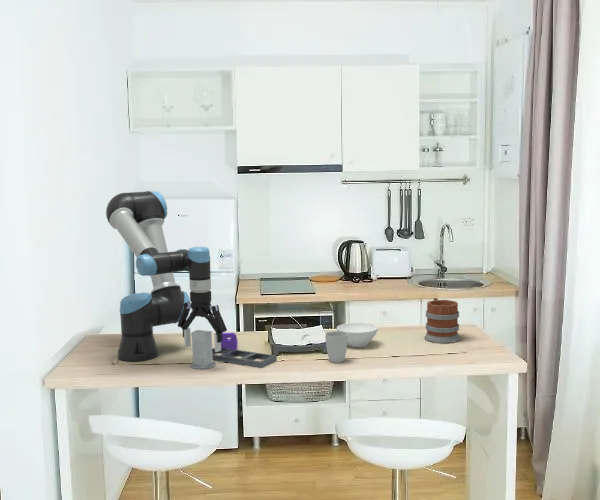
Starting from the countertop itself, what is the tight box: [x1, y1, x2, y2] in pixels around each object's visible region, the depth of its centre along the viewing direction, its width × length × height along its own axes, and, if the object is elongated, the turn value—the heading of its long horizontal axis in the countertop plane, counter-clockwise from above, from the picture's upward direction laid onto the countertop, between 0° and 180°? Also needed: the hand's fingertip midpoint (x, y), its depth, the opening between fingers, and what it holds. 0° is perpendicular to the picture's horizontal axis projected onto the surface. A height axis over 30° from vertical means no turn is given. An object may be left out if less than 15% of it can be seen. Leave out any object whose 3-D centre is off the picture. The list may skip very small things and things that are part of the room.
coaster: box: [190, 361, 217, 370], centre depth 275 cm, size 9×9×1 cm
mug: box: [424, 297, 461, 344], centre depth 307 cm, size 14×19×15 cm
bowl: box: [336, 322, 379, 348], centre depth 298 cm, size 16×16×7 cm
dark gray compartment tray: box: [212, 347, 278, 369], centre depth 281 cm, size 27×10×2 cm, turn 60°
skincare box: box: [191, 329, 214, 366], centre depth 274 cm, size 6×4×12 cm
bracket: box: [221, 332, 238, 350], centre depth 300 cm, size 12×7×7 cm, turn 3°
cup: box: [324, 330, 348, 364], centre depth 277 cm, size 8×8×10 cm
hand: (202, 348), depth 274 cm, fingers open, 13 cm apart
